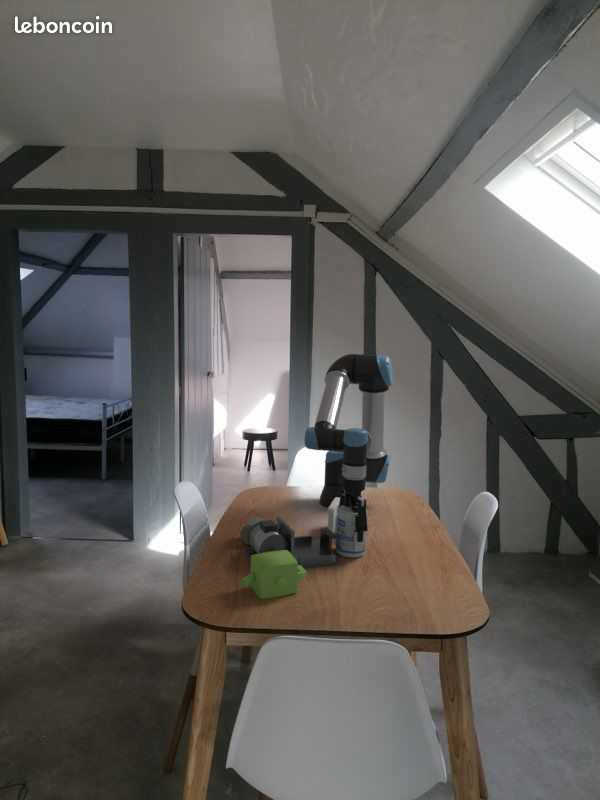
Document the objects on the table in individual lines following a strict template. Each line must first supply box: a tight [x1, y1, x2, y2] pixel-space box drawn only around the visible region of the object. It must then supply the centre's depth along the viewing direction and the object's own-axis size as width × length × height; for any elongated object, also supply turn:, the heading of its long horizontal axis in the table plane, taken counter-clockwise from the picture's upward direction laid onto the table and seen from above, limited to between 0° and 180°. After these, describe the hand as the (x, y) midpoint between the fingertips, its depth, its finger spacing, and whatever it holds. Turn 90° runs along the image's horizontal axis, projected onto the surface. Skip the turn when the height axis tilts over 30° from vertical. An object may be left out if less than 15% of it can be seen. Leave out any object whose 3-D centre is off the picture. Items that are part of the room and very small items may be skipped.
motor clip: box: [242, 516, 341, 569], centre depth 172 cm, size 27×18×12 cm, turn 111°
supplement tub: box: [335, 505, 368, 559], centre depth 177 cm, size 10×10×15 cm
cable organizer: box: [326, 497, 340, 535], centre depth 196 cm, size 15×11×12 cm
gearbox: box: [240, 550, 308, 600], centre depth 148 cm, size 18×10×10 cm, turn 113°
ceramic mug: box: [239, 516, 265, 546], centre depth 184 cm, size 11×8×8 cm
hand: (350, 545), depth 178 cm, fingers closed on supplement tub, 9 cm apart
